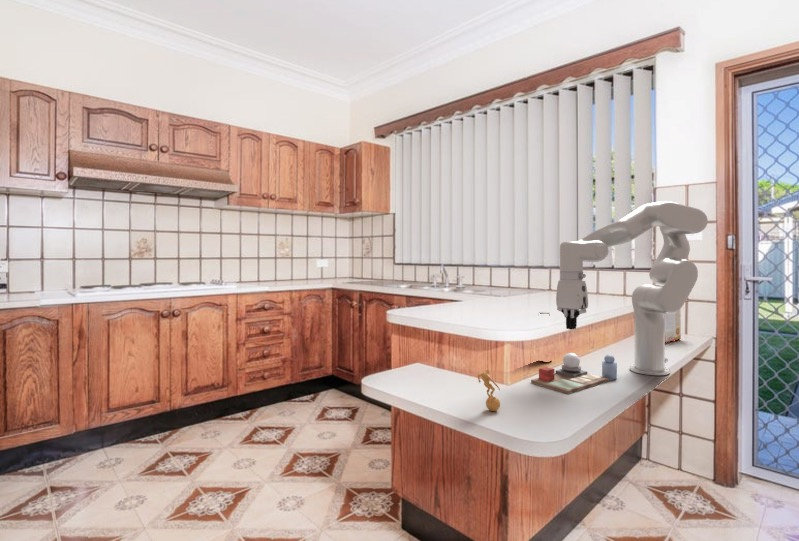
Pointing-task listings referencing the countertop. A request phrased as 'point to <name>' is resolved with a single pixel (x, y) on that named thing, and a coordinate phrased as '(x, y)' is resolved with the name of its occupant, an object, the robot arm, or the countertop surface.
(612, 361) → the blue stoppered bottle
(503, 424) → the countertop surface
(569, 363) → the white ball on base
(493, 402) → the figurine
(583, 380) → the game board
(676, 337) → the cracker box
